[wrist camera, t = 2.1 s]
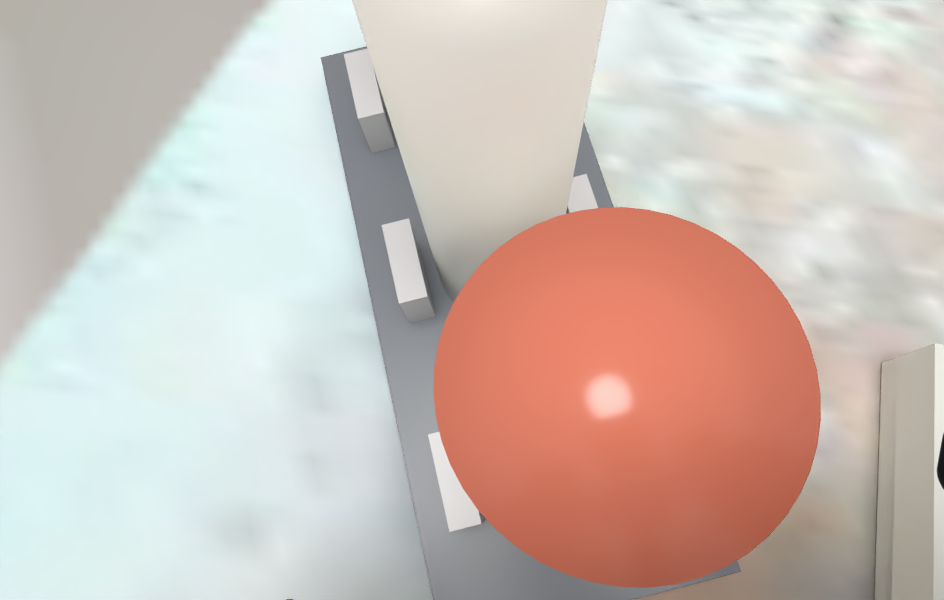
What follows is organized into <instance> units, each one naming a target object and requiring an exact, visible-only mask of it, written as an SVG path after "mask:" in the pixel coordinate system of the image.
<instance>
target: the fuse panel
mask: <svg viewBox="0 0 944 600" xmlns="http://www.w3.org/2000/svg"><path fill="white" fill-rule="evenodd" d="M352 1H353V5H354V8H355V11H356V14H357V17H358V20H359V23H360V27H361V30H362V33H363V36H364V39H365V42H366V47H362V48H358V49H354V50H350V51H346V52H342V53H338V54H334V55H330V56H326V57H322V58H321V60H322V65H323V70H324V75H325V80H326V85H327V89H328V94H329V99H330V104H331V109H332V113H333V118H334V123H335V128H336V133H337V138H338V142H339V147H340V152H341V157H342V162H343V166H344V171H345V176H346V181H347V186H348V191H349V195H350V200H351V205H352V210H353V215H354V220H355V224H356V229H357V234H358V239H359V244H360V248H361V253H362V258H363V263H364V268H365V273H366V277H367V282H368V287H369V292H370V297H371V301H372V306H373V311H374V316H375V321H376V326H377V330H378V335H379V340H380V345H381V350H382V354H383V359H384V364H385V369H386V374H387V379H388V383H389V388H390V393H391V398H392V403H393V407H394V412H395V417H396V422H397V427H398V432H399V436H400V441H401V446H402V451H403V456H404V460H405V465H406V470H407V475H408V480H409V485H410V489H411V494H412V499H413V504H414V509H415V513H416V518H417V523H418V528H419V533H420V538H421V542H422V547H423V552H424V557H425V562H426V566H427V571H428V576H429V581H430V586H431V591H432V595H433V600H634V599H638V598H642V597H646V596H649V595H653V594H657V593H661V592H665V591H668V590H672V589H676V588H680V587H684V586H687V585H691V584H695V583H699V582H703V581H706V580H710V579H714V578H718V577H722V576H725V575H729V574H733V573H737V572H741V571H740V568H739V565H738V562H737V560H736V561H735V562H733V563H732V564H730V565H728V566H727V567H725V568H722V569H720V570H718V571H715V572H713V573H711V574H709V575H706V576H704V577H702V578H698V579H694V580H690V581H687V582H683V583H679V584H675V585H667V586H659V587H650V588H637V587H617V586H611V585H605V584H599V583H593V582H589V581H586V580H583V579H580V578H576V577H573V576H570V575H567V574H564V573H562V572H560V571H558V570H556V569H554V568H551V567H549V566H547V565H545V564H543V563H541V562H539V561H538V560H536V559H534V558H533V557H531V556H530V555H528V554H527V553H525V552H523V551H522V550H520V549H519V548H517V547H516V546H515V545H514V544H512V543H511V542H510V541H509V540H508V539H506V538H505V537H504V536H503V535H502V534H501V533H499V532H498V531H497V530H496V529H495V528H494V527H493V526H492V525H491V524H490V523H489V521H488V520H487V519H486V518H485V517H484V516H483V515H482V514H481V513H480V512H479V511H478V509H477V508H476V506H475V505H474V504H473V502H472V501H471V499H470V498H469V497H468V495H467V494H466V492H465V491H464V489H463V488H462V486H461V484H460V482H459V480H458V478H457V477H456V475H455V473H454V471H453V469H452V467H451V465H450V463H449V460H448V457H447V455H446V452H445V449H444V446H443V444H442V441H441V437H440V432H439V428H438V424H437V420H436V413H435V403H434V393H433V389H434V366H435V360H436V354H437V348H438V343H439V340H440V336H441V333H442V330H443V327H444V323H445V321H446V318H447V316H448V314H449V312H450V310H451V307H452V305H453V303H454V301H455V299H456V298H457V296H458V294H459V293H460V291H461V290H462V288H463V286H464V285H465V283H466V282H467V280H468V279H469V278H470V277H471V275H472V274H473V273H474V272H475V271H476V269H477V268H478V267H479V266H480V265H481V263H483V262H484V261H485V260H486V259H487V258H488V257H489V256H490V255H491V254H492V253H493V252H494V251H495V250H496V249H498V248H499V247H500V246H502V245H503V244H504V243H506V242H507V241H509V240H510V239H511V238H513V237H514V236H516V235H517V234H519V233H521V232H523V231H525V230H527V229H528V228H530V227H532V226H534V225H536V224H538V223H541V222H543V221H546V220H549V219H551V218H554V217H556V216H560V215H564V214H568V213H572V212H576V211H580V210H588V209H595V208H614V207H613V204H612V201H611V199H610V196H609V193H608V190H607V187H606V184H605V181H604V179H603V176H602V173H601V170H600V167H599V164H598V161H597V158H596V156H595V153H594V150H593V147H592V144H591V141H590V138H589V136H588V133H587V130H586V127H585V124H584V118H585V113H586V108H587V103H588V97H589V92H590V87H591V82H592V77H593V72H594V67H595V61H596V56H597V51H598V46H599V41H600V36H601V31H602V25H603V20H604V15H605V10H606V5H607V0H352Z"/></svg>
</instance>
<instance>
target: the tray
mask: <svg viewBox="0 0 944 600" xmlns="http://www.w3.org/2000/svg"><path fill="white" fill-rule="evenodd" d="M943 433H944V345H941V344H936V343H935V344H932V345H929V346H926V347H924V348H921V349H918V350H916V351H913V352H910V353H907V354H905V355H902V356H899V357H897V358H894V359H891V360H888V361H886V362H883V363H882V372H881V405H880V438H879V471H878V504H877V537H876V570H875V600H944V489H943V488H942V486H941V484H940V482H939V480H938V477H937V464H938V458H939V453H940V447H941V442H942V436H943Z"/></svg>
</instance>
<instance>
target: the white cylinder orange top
mask: <svg viewBox="0 0 944 600" xmlns="http://www.w3.org/2000/svg"><path fill="white" fill-rule="evenodd" d="M433 393H434V403H435V413H436V420H437V424H438V428H439V432H440V437H441V441H442V444H443V446H444V449H445V452H446V455H447V457H448V460H449V463H450V465H451V467H452V469H453V471H454V473H455V475H456V477H457V478H458V480H459V482H460V484H461V486H462V488H463V489H464V491H465V492H466V494H467V495H468V497H469V498H470V499H471V501H472V502H473V504H474V505H475V506H476V508H477V509H478V511H479V512H480V513H481V514H482V515H483V516H484V517H485V518H486V519H487V520H488V521H489V523H490V524H491V525H492V526H493V527H494V528H495V529H496V530H497V531H498V532H499V533H501V534H502V535H503V536H504V537H505V538H506V539H508V540H509V541H510V542H511V543H512V544H514V545H515V546H516V547H517V548H519V549H520V550H522V551H523V552H525V553H527V554H528V555H530V556H531V557H533V558H534V559H536V560H538V561H539V562H541V563H543V564H545V565H547V566H549V567H551V568H554V569H556V570H558V571H560V572H562V573H564V574H567V575H570V576H573V577H576V578H580V579H583V580H586V581H589V582H593V583H599V584H605V585H611V586H617V587H637V588H650V587H659V586H667V585H675V584H679V583H683V582H687V581H690V580H694V579H698V578H702V577H704V576H706V575H709V574H711V573H713V572H715V571H718V570H720V569H722V568H725V567H727V566H728V565H730V564H732V563H733V562H735V561H736V560H738V559H740V558H741V557H743V556H744V555H746V554H748V553H749V552H750V551H752V550H753V549H754V548H755V547H756V546H757V545H759V544H760V543H761V542H762V541H763V540H764V539H766V538H767V537H768V536H769V535H770V534H771V533H772V532H773V530H774V529H775V528H776V527H777V526H778V525H779V523H780V522H781V521H782V520H783V519H784V518H785V516H786V515H787V514H788V512H789V510H790V509H791V507H792V506H793V504H794V502H795V501H796V499H797V498H798V496H799V495H800V493H801V490H802V488H803V486H804V484H805V481H806V479H807V477H808V475H809V472H810V470H811V466H812V463H813V459H814V455H815V452H816V448H817V444H818V436H819V428H820V420H821V413H820V389H819V382H818V375H817V369H816V365H815V362H814V358H813V355H812V351H811V348H810V344H809V342H808V340H807V337H806V335H805V333H804V330H803V328H802V326H801V323H800V321H799V320H798V318H797V316H796V314H795V313H794V311H793V309H792V308H791V306H790V304H789V302H788V301H787V299H786V298H785V297H784V295H783V294H782V293H781V291H780V290H779V289H778V287H777V286H776V285H775V283H774V282H773V281H772V280H771V279H770V278H769V277H768V275H767V274H766V273H765V272H764V271H763V270H762V269H761V268H760V267H759V266H758V265H757V264H756V263H755V262H754V261H753V260H751V259H750V258H749V257H748V256H746V255H745V254H744V253H743V252H742V251H740V250H739V249H738V248H737V247H735V246H734V245H732V244H731V243H729V242H727V241H726V240H724V239H723V238H721V237H720V236H718V235H717V234H715V233H713V232H711V231H709V230H707V229H705V228H703V227H701V226H698V225H696V224H694V223H692V222H689V221H686V220H683V219H680V218H678V217H675V216H672V215H668V214H664V213H659V212H655V211H650V210H644V209H635V208H625V207H620V208H595V209H588V210H580V211H576V212H572V213H568V214H564V215H560V216H556V217H554V218H551V219H549V220H546V221H543V222H541V223H538V224H536V225H534V226H532V227H530V228H528V229H527V230H525V231H523V232H521V233H519V234H517V235H516V236H514V237H513V238H511V239H510V240H509V241H507V242H506V243H504V244H503V245H502V246H500V247H499V248H498V249H496V250H495V251H494V252H493V253H492V254H491V255H490V256H489V257H488V258H487V259H486V260H485V261H484V262H483V263H481V265H480V266H479V267H478V268H477V269H476V271H475V272H474V273H473V274H472V275H471V277H470V278H469V279H468V280H467V282H466V283H465V285H464V286H463V288H462V290H461V291H460V293H459V294H458V296H457V298H456V299H455V301H454V303H453V305H452V307H451V310H450V312H449V314H448V316H447V318H446V321H445V323H444V327H443V330H442V333H441V336H440V340H439V343H438V348H437V354H436V360H435V366H434V389H433Z"/></svg>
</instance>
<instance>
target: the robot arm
mask: <svg viewBox="0 0 944 600" xmlns="http://www.w3.org/2000/svg"><path fill="white" fill-rule="evenodd" d="M937 477H938V480H939V482H940V484H941V486H942V488H943V489H944V433H943V436H942V442H941V447H940V453H939V458H938V464H937ZM287 600H293V599H287Z"/></svg>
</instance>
